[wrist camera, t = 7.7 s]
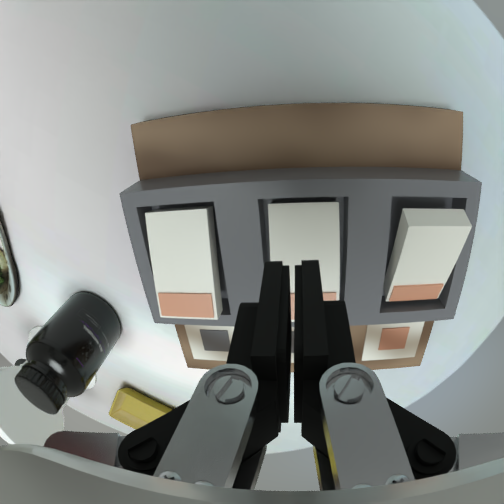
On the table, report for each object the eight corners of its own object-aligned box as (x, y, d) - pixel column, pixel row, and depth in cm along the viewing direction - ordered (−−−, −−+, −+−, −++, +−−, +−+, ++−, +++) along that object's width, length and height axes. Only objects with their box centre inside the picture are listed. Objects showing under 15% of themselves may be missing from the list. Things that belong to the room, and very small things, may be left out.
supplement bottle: (130, 313, 30) (71, 405, 19) (114, 350, 33) (66, 432, 23) (74, 277, 29) (2, 355, 19) (65, 318, 32) (8, 391, 22)
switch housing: (139, 180, 21) (119, 193, 19) (460, 170, 18) (481, 182, 15) (167, 300, 26) (154, 323, 23) (440, 295, 22) (453, 318, 20)
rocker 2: (270, 203, 20) (267, 204, 18) (336, 201, 19) (339, 202, 18) (274, 314, 21) (272, 322, 19) (336, 313, 20) (338, 321, 19)
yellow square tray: (186, 408, 37) (181, 421, 35) (166, 431, 41) (162, 442, 39) (124, 377, 36) (118, 389, 34) (113, 404, 40) (107, 415, 38)
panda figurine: (15, 328, 36) (-44, 399, 22) (55, 315, 32) (-17, 405, 19) (64, 388, 40) (20, 461, 27) (111, 386, 37) (64, 478, 24)
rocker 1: (154, 209, 21) (143, 213, 19) (212, 205, 20) (205, 209, 18) (168, 308, 22) (159, 318, 21) (222, 310, 22) (217, 320, 20)
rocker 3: (402, 208, 16) (409, 228, 15) (463, 209, 16) (472, 228, 15) (382, 284, 21) (386, 303, 20) (433, 282, 21) (438, 300, 20)
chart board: (143, 121, 21) (128, 125, 19) (450, 109, 18) (465, 112, 16) (193, 353, 31) (187, 369, 29) (415, 351, 28) (420, 367, 26)
